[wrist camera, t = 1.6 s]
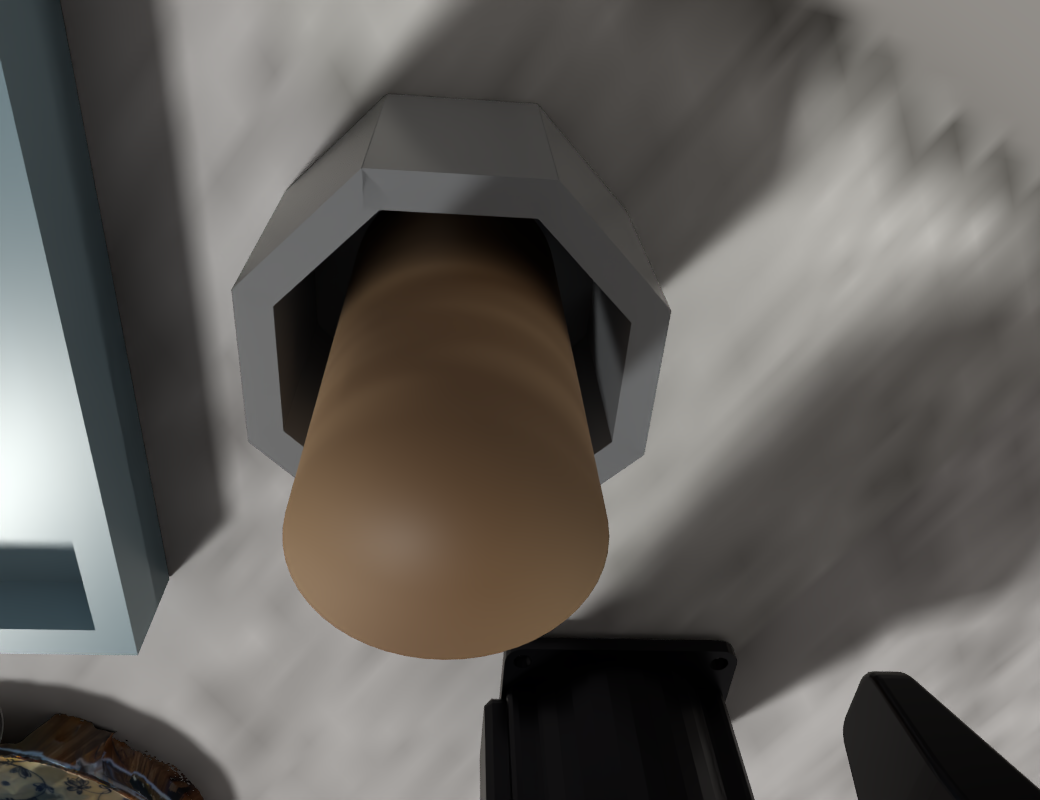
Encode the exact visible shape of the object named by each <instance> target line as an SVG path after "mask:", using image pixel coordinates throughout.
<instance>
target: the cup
mask: <svg viewBox="0 0 1040 800" xmlns="http://www.w3.org/2000/svg"><path fill="white" fill-rule="evenodd" d="M382 210H391V211H409V212H427V213H445V214H463V215H481V216H499V217H516V218H533V219H534V220H535V222H536V223H537V224H538V226H539V227H540V229H541V230H542V232H543V234H544V236H545V237H546V240H547V242H548V245H549V247H550V250H551V254H552V258H553V262H554V267H555V272H556V277H557V281H558V286H559V291H560V296H561V300H562V305H563V310H564V315H565V319H566V324H567V329H568V334H569V338H570V343H571V348H572V353H573V357H574V362H575V367H576V372H577V376H578V381H579V386H580V391H581V395H582V400H583V405H584V409H585V414H586V419H587V424H588V428H589V433H590V438H591V443H592V447H593V452H594V457H595V462H596V466H597V471H598V476H599V481H600V485H601V484H602V483H604V482H605V481H607V480H608V479H610V478H611V477H612V476H614V475H615V474H617V473H618V472H620V471H621V470H623V469H624V468H626V467H627V466H629V465H630V464H631V463H633V462H634V461H636V460H637V459H639V458H640V457H642V456H643V455H644V452H645V447H646V441H647V436H648V431H649V426H650V420H651V415H652V410H653V404H654V399H655V394H656V389H657V383H658V378H659V373H660V367H661V362H662V357H663V352H664V346H665V341H666V336H667V330H668V325H669V320H670V314H671V309H670V307H669V305H668V303H667V300H666V298H665V296H664V294H663V291H662V289H661V287H660V285H659V283H658V280H657V278H656V276H655V274H654V271H653V269H652V267H651V265H650V262H649V260H648V258H647V256H646V253H645V251H644V249H643V247H642V244H641V242H640V240H639V238H638V236H637V233H636V231H635V229H634V227H633V224H632V222H631V220H630V218H629V215H628V213H627V211H626V210H625V209H624V207H623V206H622V205H621V204H620V203H619V201H618V200H617V199H616V198H615V197H614V195H613V194H612V193H611V192H610V191H609V189H608V188H607V187H606V186H605V185H604V183H603V182H602V181H601V180H600V178H599V177H598V176H597V175H596V174H595V172H594V171H593V170H592V169H591V168H590V166H589V165H588V164H587V163H586V162H585V160H584V159H583V158H582V157H581V156H580V154H579V153H578V152H577V151H576V150H575V148H574V147H573V146H572V145H571V143H570V142H569V141H568V140H567V139H566V137H565V136H564V135H563V134H562V133H561V131H560V130H559V129H558V128H557V127H556V125H555V124H554V123H553V122H552V121H551V119H550V118H549V117H548V116H547V114H546V113H545V112H544V111H543V110H542V108H541V107H540V106H539V105H537V104H532V103H517V102H502V101H487V100H472V99H457V98H442V97H427V96H413V95H398V94H386V95H385V96H384V97H383V98H382V99H381V100H380V101H379V102H378V103H377V104H376V105H375V106H374V107H373V108H372V109H370V110H369V111H368V112H367V113H366V114H365V115H364V116H363V117H362V118H361V119H360V120H359V121H358V122H357V123H356V124H355V125H354V126H353V127H352V128H351V129H350V130H349V131H348V132H347V133H346V134H344V135H343V136H342V137H341V138H340V139H339V140H338V141H337V142H336V143H335V144H334V145H333V146H332V147H331V148H330V149H329V150H328V151H327V152H326V153H325V154H324V155H323V156H322V157H321V158H320V159H318V160H317V161H316V162H315V163H314V164H313V165H312V166H311V167H310V168H309V169H308V170H307V171H306V172H305V173H304V174H303V175H302V176H301V177H300V178H299V179H298V180H297V181H296V182H295V183H294V184H293V185H291V186H290V187H289V188H288V189H287V190H286V191H285V193H284V195H283V196H282V198H281V200H280V202H279V204H278V206H277V207H276V209H275V211H274V213H273V215H272V217H271V218H270V220H269V222H268V224H267V226H266V228H265V229H264V231H263V233H262V235H261V237H260V239H259V240H258V242H257V244H256V246H255V248H254V250H253V251H252V253H251V255H250V257H249V259H248V261H247V262H246V264H245V266H244V268H243V270H242V272H241V273H240V275H239V277H238V279H237V281H236V283H235V284H234V286H233V288H232V290H231V291H232V300H233V309H234V318H235V327H236V336H237V345H238V354H239V363H240V372H241V381H242V390H243V399H244V409H245V418H246V427H247V436H248V441H249V443H250V444H252V445H253V446H254V447H256V448H257V449H258V450H259V451H261V452H262V453H263V454H265V455H266V456H267V457H269V458H270V459H271V460H272V461H274V462H275V463H276V464H278V465H279V466H280V467H282V468H283V469H284V470H286V471H287V472H288V473H289V474H291V475H292V476H293V477H295V476H296V473H297V469H298V465H299V462H300V458H301V455H302V451H303V447H304V444H305V440H306V437H307V433H308V429H309V426H310V422H311V419H312V415H313V411H314V408H315V404H316V401H317V397H318V394H319V390H320V386H321V383H322V379H323V376H324V372H325V368H326V365H327V361H328V358H329V354H330V350H331V347H332V343H333V340H334V336H335V332H336V329H337V325H338V322H339V318H340V314H341V311H342V307H343V304H344V300H345V296H346V293H347V289H348V286H349V282H350V278H351V275H352V271H353V268H354V264H355V261H356V257H357V253H358V250H359V247H360V244H361V241H362V239H363V237H364V235H365V233H366V231H367V229H368V227H369V226H370V224H371V223H372V222H373V220H374V219H375V217H376V216H377V215H378V214H379V213H380V212H381V211H382Z"/></svg>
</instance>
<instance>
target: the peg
mask: <svg viewBox="0 0 1040 800" xmlns="http://www.w3.org/2000/svg"><path fill="white" fill-rule="evenodd" d="M608 545H609V528H608V519H607V514H606V509H605V504H604V500H603V495H602V490H601V485H600V481H599V476H598V471H597V466H596V462H595V457H594V452H593V447H592V443H591V438H590V433H589V428H588V424H587V419H586V414H585V409H584V405H583V400H582V395H581V391H580V386H579V381H578V376H577V372H576V367H575V362H574V357H573V353H572V348H571V343H570V338H569V334H568V329H567V324H566V319H565V315H564V310H563V305H562V300H561V296H560V291H559V286H558V281H557V277H556V272H555V267H554V262H553V258H552V254H551V250H550V247H549V245H548V242H547V240H546V237H545V236H544V234H543V232H542V230H541V229H540V227H539V226H538V224H537V223H536V222H535V220H534V219H533V218H516V217H499V216H481V215H463V214H445V213H427V212H409V211H391V210H382V211H381V212H380V213H379V214H378V215H377V216H376V217H375V219H374V220H373V222H372V223H371V224H370V226H369V227H368V229H367V231H366V233H365V235H364V237H363V239H362V241H361V244H360V247H359V250H358V253H357V257H356V261H355V264H354V268H353V271H352V275H351V278H350V282H349V286H348V289H347V293H346V296H345V300H344V304H343V307H342V311H341V314H340V318H339V322H338V325H337V329H336V332H335V336H334V340H333V343H332V347H331V350H330V354H329V358H328V361H327V365H326V368H325V372H324V376H323V379H322V383H321V386H320V390H319V394H318V397H317V401H316V404H315V408H314V411H313V415H312V419H311V422H310V426H309V429H308V433H307V437H306V440H305V444H304V447H303V451H302V455H301V458H300V462H299V465H298V469H297V473H296V476H295V480H294V483H293V487H292V491H291V494H290V498H289V501H288V505H287V509H286V512H285V518H284V524H283V549H284V555H285V560H286V563H287V566H288V569H289V572H290V575H291V577H292V579H293V581H294V582H295V584H296V586H297V588H298V590H299V591H300V593H301V594H302V595H303V597H304V598H305V599H306V601H307V602H308V603H309V604H310V605H311V606H312V607H313V608H314V609H315V610H316V611H317V612H318V613H319V614H320V615H321V616H322V617H323V618H324V619H325V620H327V621H328V622H329V623H331V624H332V625H333V626H334V627H336V628H337V629H339V630H341V631H342V632H344V633H346V634H347V635H349V636H350V637H352V638H354V639H357V640H359V641H361V642H363V643H365V644H367V645H370V646H373V647H376V648H378V649H381V650H384V651H387V652H392V653H396V654H400V655H404V656H410V657H417V658H423V659H440V660H448V659H467V658H475V657H482V656H487V655H492V654H496V653H501V652H504V651H507V650H510V649H513V648H516V647H519V646H521V645H524V644H526V643H528V642H531V641H533V640H535V639H537V638H539V637H541V636H542V635H544V634H546V633H548V632H550V631H551V630H553V629H554V628H555V627H557V626H558V625H560V624H561V623H562V622H564V621H565V620H566V619H567V618H569V617H570V616H571V615H572V614H573V613H574V612H575V611H576V610H577V609H578V608H579V607H580V606H581V605H582V603H583V602H584V601H585V600H586V599H587V598H588V596H589V595H590V593H591V592H592V590H593V589H594V587H595V585H596V584H597V582H598V580H599V578H600V575H601V573H602V571H603V568H604V565H605V561H606V557H607V554H608Z"/></svg>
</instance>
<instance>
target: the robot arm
mask: <svg viewBox="0 0 1040 800" xmlns="http://www.w3.org/2000/svg"><path fill="white" fill-rule="evenodd" d="M521 655H526V656H522V657H521ZM716 658H718V659H716ZM736 665H737V659H736V656H735V653H734V650H733V648H732V646H731V644H729V643H727V642H725V641H719V640H652V639H583V638H537V639H535V640H533V641H531V642H528V643H526V644H524V645H521V646H519V647H516V648H513V649H510V650H507V651H504V656H503V666H502V676H501V686H500V697H499V699H491V700H490V701H489V702H488V703H487V704H486V705H485V706H484V714H483V726H482V738H481V750H480V800H755V799H754V796H753V793H752V790H751V786H750V783H749V780H748V776H747V773H746V770H745V766H744V763H743V760H742V757H741V753H740V750H739V747H738V743H737V740H736V737H735V734H734V730H733V727H732V724H731V720H730V717H729V714H728V711H727V707H726V704H725V700H726V697H727V694H728V691H729V687H730V684H731V681H732V678H733V674H734V671H735V668H736ZM3 724H4V723H3V715H2V711H1V708H0V741H1V738H2V733H3ZM843 737H844V744H845V748H846V752H847V756H848V760H849V764H850V768H851V772H852V777H853V781H854V785H855V789H856V793H857V797H858V800H1040V789H1039V788H1038V787H1037V786H1035V785H1034V784H1033V783H1032V782H1031V781H1030V780H1029V779H1027V778H1026V777H1025V776H1024V775H1023V774H1022V773H1021V772H1019V771H1018V770H1017V769H1016V768H1015V767H1014V766H1013V765H1011V764H1010V763H1009V762H1008V761H1007V760H1006V759H1005V758H1003V757H1002V756H1001V755H1000V754H999V753H998V752H997V751H995V750H994V749H993V748H992V747H991V746H990V745H989V744H987V743H986V742H985V741H984V740H983V739H982V738H981V737H979V736H978V735H977V734H976V733H975V732H974V731H973V730H971V729H970V728H969V727H968V726H967V725H966V724H965V723H963V722H962V721H961V720H960V719H959V718H958V717H957V716H956V715H954V714H953V713H952V712H951V711H950V710H949V709H948V708H946V707H945V706H944V705H943V704H942V703H941V702H940V701H938V700H937V699H936V698H935V697H934V696H933V695H932V694H930V693H929V692H928V691H927V690H926V689H925V688H924V687H922V686H921V685H920V684H919V683H918V682H917V681H916V680H914V679H913V678H912V677H910V676H909V675H907V674H905V673H902V672H877V671H873V672H868V673H867V674H866V675H864V676H863V677H862V679H861V681H860V684H859V686H858V688H857V691H856V693H855V696H854V698H853V700H852V703H851V705H850V708H849V710H848V712H847V715H846V717H845V721H844V726H843Z"/></svg>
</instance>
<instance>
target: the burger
mask: <svg viewBox="0 0 1040 800" xmlns="http://www.w3.org/2000/svg"><path fill="white" fill-rule="evenodd" d="M80 720H84V719H80V718H77V717H74V716H67V715H66V714H61V715H59V714H56V715H54V716H53V717H52V718H51V719H50V720H49V721H47V722H46V723H45V724H43V725H42V726H40V727H39V728H38V729H36V730H35V731H33V732H32V733H31V734H29V735H28V736H27V737H26V738H25V739H24V740H23V741H21V742H19V743H17V744H12V743H11V744H8V743H6V744H0V800H191V799H192V800H204V799H203V797H202V796H201V794H200V792H199V791H198V789H197V788H196V787H195V786H194V785H193V784H192V783H191V782H190V781H188V780H186V779H187V778H185V776H184V775H183V773H181V775H182V776H183V778H181V776H180V775H179V774H178V773H177V772H175V771H173V770H172V769H171V768H170V766H169V765H168V764H170V763H168V764H165V763H163V761H162V762H159V760H156V759H154V758H156V757H154V758H151V757H150V755H148V756H146V754H142V753H141V752H139V751H135V750H133V749H131V748H130V747H129V746H127V744H126V743H124V742H120V741H118V740H116V739H115V738H112V736H113V734H114V733H115V732H114V733H112V732H108V731H105V730H98V729H96V728H95V727H94V725H93V723H92V722H87V721H86V720H84V721H80ZM126 741H127V740H126ZM145 752H148V751H145ZM143 755H144V756H143ZM146 757H148V758H146ZM149 758H151V759H152V760H150V759H149ZM172 767H175V766H174V765H172ZM168 770H169V771H168ZM174 770H176V771H178V769H177V768H175V769H174ZM179 771H180V770H179ZM175 776H176V777H175ZM179 777H180V778H179ZM171 778H172V779H171ZM173 778H174V779H173ZM182 779H183V780H182ZM177 780H178V781H177ZM181 780H182V781H181ZM184 781H185V782H184ZM187 783H190V784H189V785H188V784H187ZM193 790H194V791H193Z"/></svg>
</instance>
